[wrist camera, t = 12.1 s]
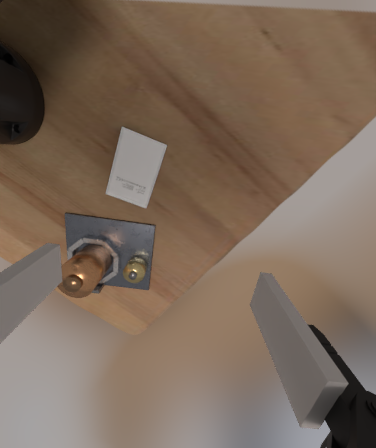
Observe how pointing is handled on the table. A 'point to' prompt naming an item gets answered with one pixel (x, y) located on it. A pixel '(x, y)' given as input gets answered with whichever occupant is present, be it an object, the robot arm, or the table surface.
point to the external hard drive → (135, 167)
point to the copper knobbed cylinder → (84, 271)
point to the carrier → (114, 248)
